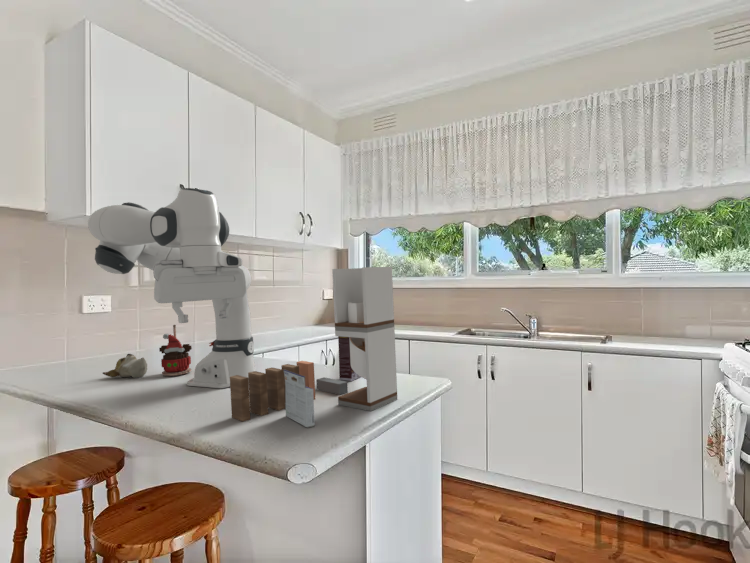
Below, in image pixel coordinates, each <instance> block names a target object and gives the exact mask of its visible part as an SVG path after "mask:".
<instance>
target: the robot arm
mask: <svg viewBox="0 0 750 563" xmlns="http://www.w3.org/2000/svg"><path fill="white" fill-rule="evenodd" d="M87 227H88V230H89V233H90V234H91V235H92V236H93V237H94V238H95V239H97V240H98V241H99V243H98V246H96V247H95V248H94V249H95V254H94V260H95V263H96V265H97V266H99V267H100V268H101V269H103V271H106V272H107V273H110V274H114V275H115V274H117V275H120V274H121V275H125V274H128V273H130V272H131V271H132V270H133V269H134V267H135V265H136V264H135V263H136V262H138V263H139V264H140V265H142V266H144V267H145V268H147V269H149V270H151V271H153V278H154V279H155V280H154V290H153V297H154V298H153V299H154V300H155V301H156V302H157V304H171V308H172V309H173V311H174V312H175V314H176V315H177V318H178V320H177V321H178V323H179V324H187V323H189V319H188V318H189V314H186V313H184V312H183V310H182V309H181V308H183V303H184V302H185V303H186V302H202V301H210V300H211V302H212V306H213V311H214V319H215V336H216V339H214V340H213V341H212V342H208V344H209V345H208V346H209V347H212V348H211V351H210V352H208V354H207V355H206V356H205V357H203V358H202V359H201V360H200V361H199V362H198V363H196V366H195V367H194V375H193V376H194V377H193V378H191V379H189V380H188V381H187V382H186V385H187V386H190V387H202V388H212V389H224V388H229V387H230V377H231V376H235V375H239V376H243V377H248V373H249V372H254V371H257V368H256V364H255V359H254V350H255V348H254V337H253V336H252V320H251V319H252V318H251V317H252V316H251V310H250V304H249V299H248V298H249V297H248V289H249V288H250V286H251V283H252V275H251V272H250V270H249V269H248V267H246V266H245V265H243V258H242V257H240V256H237V255H235V254H234V255H233V254H231V253H228V252H225V251H223V250H222V247H223V246H224V245H225V243H226V241H227V240H228V239H229V235H230V225H229V223H228V221H227V218H225V216H224V215H223V214H222V212H220V208H219V203H218V199H217V197H216V194H215V193H213V191H211V190H207V189H206V190H205V189H200V188H198V189H197V188H191V187H184V188H181V189H180V190H179V191H178V193H177V197H176V198H175V199H174V200H173V201H172V202H170V203H169V204H168V205H166V206H163V207H160V208H158V209H156V210H155V211H151V210H149V209H148V208H146V207H145V206H143V205H141V204H139V203H136V202H135V203H134V202H130V201H129V202H128V201H127V202H123V203H122V204H116V205H115V204H113V205H107V206H104V207H101V208H99V209H97V210H95V211H93V212H92V213H91V215H90V216H89V219H88V221H87ZM248 382H249V380H248Z"/></svg>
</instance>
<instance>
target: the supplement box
mask: <svg viewBox="0 0 750 563" xmlns="http://www.w3.org/2000/svg"><path fill="white" fill-rule="evenodd" d="M337 338H338V339H337V340H338V342H337V343H338V368H339V369H338V370H339V372H338V374H339V380H340V381H345V382H353V381H355V380H358V379H360V378H362V377H361V376H359V375H358V374H356V373H355V372H354V371H353V369H352V368H351V363H350V340H349V337H341V336H337Z"/></svg>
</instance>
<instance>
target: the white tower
mask: <svg viewBox="0 0 750 563" xmlns="http://www.w3.org/2000/svg"><path fill="white" fill-rule="evenodd" d="M331 270H332V290H333V313H334V314H333V316H334V336H335V337H338V336H341V337H349V340H350V363H351V368H352V369H353V371H354V372H355V373H356V374H358V375H359V376H361V377H360V378H362V379H365V380H366V386H363V387H361V388H359V389H356V390H352V391H350V392H347V393H344V394H341V395H339V396H338V397H337V403H338V405H339V406H344V407H347V408H348V407H349V408H353V409H358V410H363V411H368V412H372V411H374V410H376V409H379V408H381V407H383V406H385V405H387V404H390V403H392V402H395V401H397V400H398V381H397V380H398V379H397V361H396V360H397V355H396V337H395V336H396V333H395V330H396V329H395V312H394V310H395V309H394V308H395V306H394V289H393V288H394V286H393V282H394V281H393V267H392V266H378V267H377V266H371V267H369V266H366V267H364V266H363V267H359V268H355V267H354V268H332V269H331Z"/></svg>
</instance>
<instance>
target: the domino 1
mask: <svg viewBox="0 0 750 563" xmlns="http://www.w3.org/2000/svg"><path fill="white" fill-rule="evenodd" d="M229 392H230V406H231V407H230V409H231V410H230V411H231V418H232V419H234V420H237V421H240V422H243V423H244V422H246V421H247V422H248V421H251V412H250V400H249V382H248V377H243V376H239V375H235V376H231V377H230V391H229Z"/></svg>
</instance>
